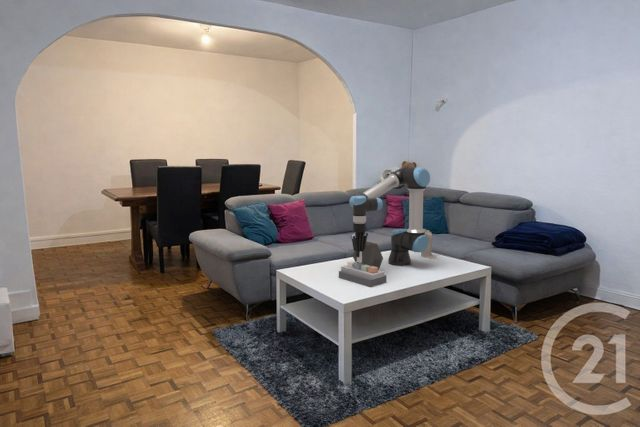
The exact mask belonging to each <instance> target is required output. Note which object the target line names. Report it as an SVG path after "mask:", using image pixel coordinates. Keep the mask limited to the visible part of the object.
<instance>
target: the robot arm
mask: <svg viewBox="0 0 640 427" xmlns="http://www.w3.org/2000/svg"><path fill="white" fill-rule="evenodd" d="M430 181H431V174H430V172H429V171H428V170H427V169H426V168H425V167H420V166H404V167H400V168H399V169H396V170H394V171H393V172H391V173H390V174H388V176H387V178H385V179H383V180H381V181H379V182H378V183H377V184H375V185H373V186H371V187H370V188H368V189H367V190H365V191H364V192H362V193H360V194H358V195H353V196H351V197H350V199H349V200H348V201H349V206H350V207H351V208H352V222H353V223H352V229H353V234H352V235H350V238H351V242H352V243H351V244H352V248H353V252H354V251H356V257H357V262H359V263H361V262H362V251H364V250H365V247H366V241H367V240H368V236H369V233H368V232H366V229H367V223H366V222H367V212H377V211H381V210H382V209H383V206H384V205H383V200H382V198H380V197H381V196H383V195H384V194H387V192H389V191H390V190H392V189H394V188H399V186H407V187H406V189H407V191H409V196H408V197H409V200H408V201H409V202H408V203H409V206H408V209H409V210H408V212H409V214H408V228H397V229H393V230H391V235H390V237H391V239H390V252H389V255H388V256H389V257H388V261H387V263H388V264H389V265H393V266H398V265H399V266H400V267H401V266H403V265H405V266H409V265H411V264H412V259H411V256H410V255H411V254H410V252H409V251H411V252H414V253H418V254H419V253H420V254H421V252H423V251H424V250H425V249H426V248H427V246H428V243H429V240H428V238H427V236H426V235H425V231H424V230H423V229H424V228H423V227H424V226H423V222H424V221H423V218H424V192H425V190H426V189H427V186H428V185H429V184H430ZM367 242H368V241H367Z"/></svg>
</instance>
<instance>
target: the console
mask: <svg viewBox="0 0 640 427" xmlns="http://www.w3.org/2000/svg"><path fill="white" fill-rule="evenodd" d="M338 278H339V279H342V280H345V281H349V282H352V283H356V284H359V285H361V286H364V287H367V288H372V287H376V286H378V285H382V284H385V283H387V275H386V274H385V271H383V270H380V269H379V270H378V273H374V274H373V273H369V272H368V271H367V272H365V271H362V270H361V269H360V270H358V269H354V268H351V267H347V264H346V265H341V267H340V270H339V271H338Z"/></svg>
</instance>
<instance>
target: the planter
mask: <svg viewBox="0 0 640 427" xmlns="http://www.w3.org/2000/svg"><path fill="white" fill-rule="evenodd" d="M352 258H353V261H355V262H357V257H356V251H354V250H353V254H352ZM383 260H384V257H383V255H382V252H381V250H380V248H379V245H378V243H375V242H371V241H366V247H365V250H364V251H362V262H361V263H362V264H364V265H369V266H375V267H378V270H379V271H380V268H381V265H382V263H383ZM357 263H359V262H357Z"/></svg>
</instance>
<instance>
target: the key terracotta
mask: <svg viewBox="0 0 640 427" xmlns="http://www.w3.org/2000/svg"><path fill="white" fill-rule="evenodd" d="M368 272H369V273H373V274H374V273H378V267H375V266H371V267H368Z"/></svg>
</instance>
